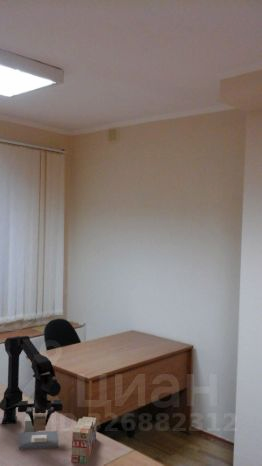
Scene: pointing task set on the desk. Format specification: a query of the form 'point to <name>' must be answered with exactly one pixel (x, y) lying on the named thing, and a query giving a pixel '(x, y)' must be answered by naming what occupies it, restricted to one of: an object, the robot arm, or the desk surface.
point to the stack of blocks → (83, 439)
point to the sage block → (28, 424)
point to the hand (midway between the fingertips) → (39, 425)
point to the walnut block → (39, 422)
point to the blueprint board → (38, 440)
